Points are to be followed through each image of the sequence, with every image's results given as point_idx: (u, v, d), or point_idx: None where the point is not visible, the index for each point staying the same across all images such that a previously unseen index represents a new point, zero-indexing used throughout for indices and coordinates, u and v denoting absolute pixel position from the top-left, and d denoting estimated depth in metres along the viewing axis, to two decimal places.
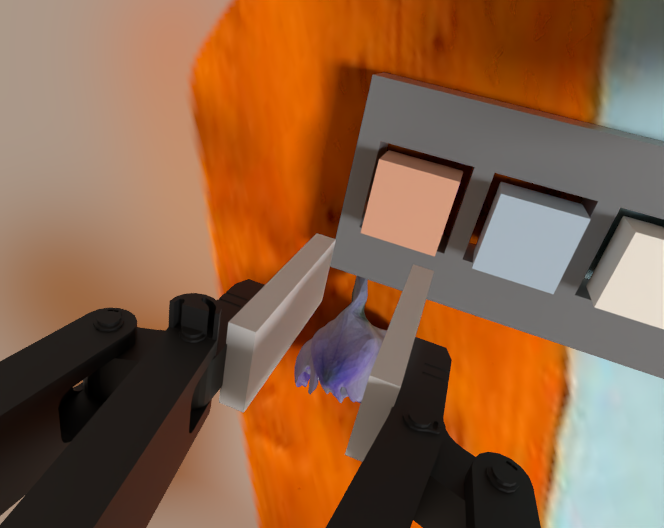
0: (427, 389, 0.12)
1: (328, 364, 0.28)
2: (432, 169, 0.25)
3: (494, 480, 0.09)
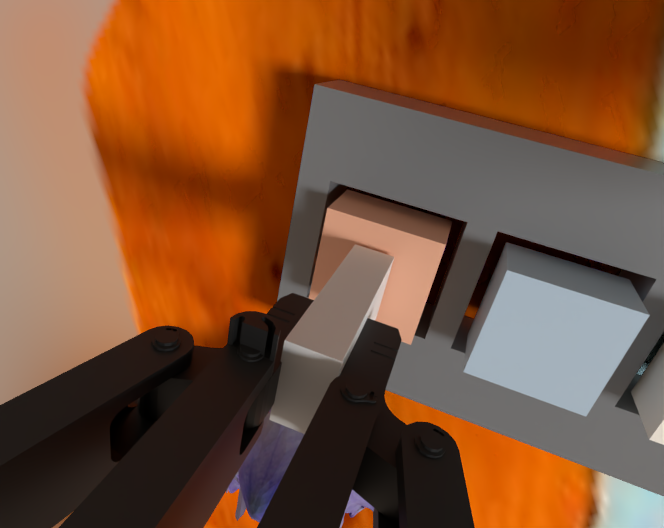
0: (373, 365, 0.12)
1: (257, 486, 0.20)
2: (406, 222, 0.17)
3: (421, 448, 0.09)
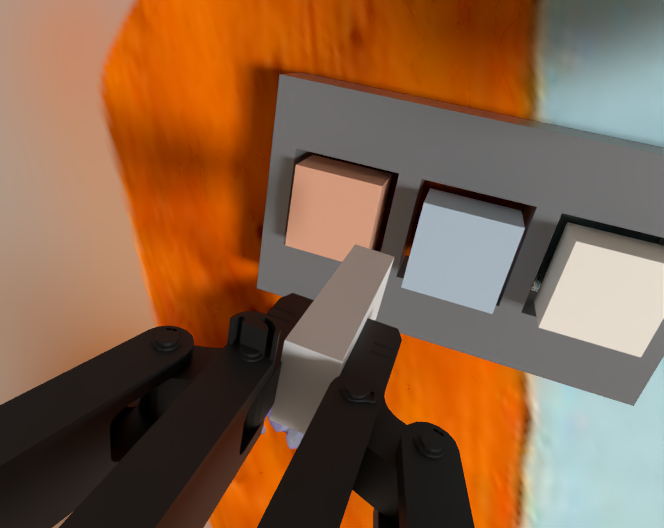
0: (373, 365, 0.12)
1: None
2: (355, 173, 0.23)
3: (421, 448, 0.09)
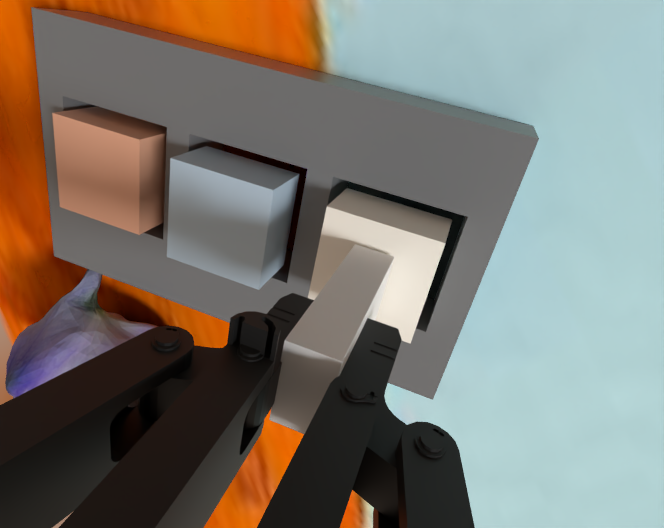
0: (373, 365, 0.12)
1: (13, 366, 0.22)
2: (123, 126, 0.20)
3: (421, 448, 0.09)
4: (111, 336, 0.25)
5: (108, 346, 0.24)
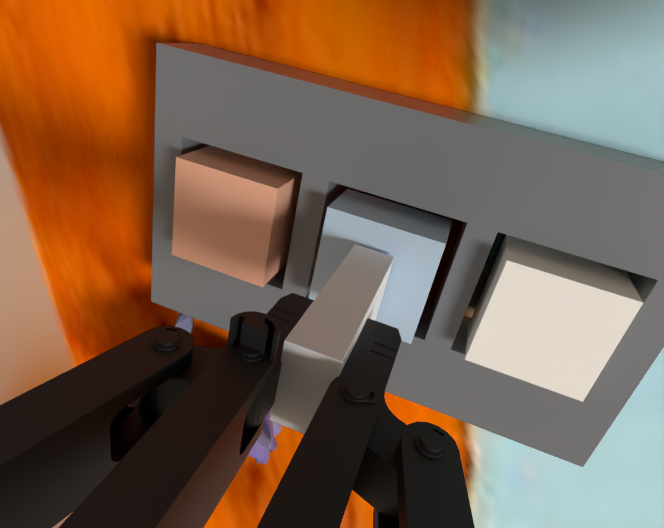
0: (373, 365, 0.12)
1: None
2: (251, 171, 0.19)
3: (421, 448, 0.09)
4: None
5: None
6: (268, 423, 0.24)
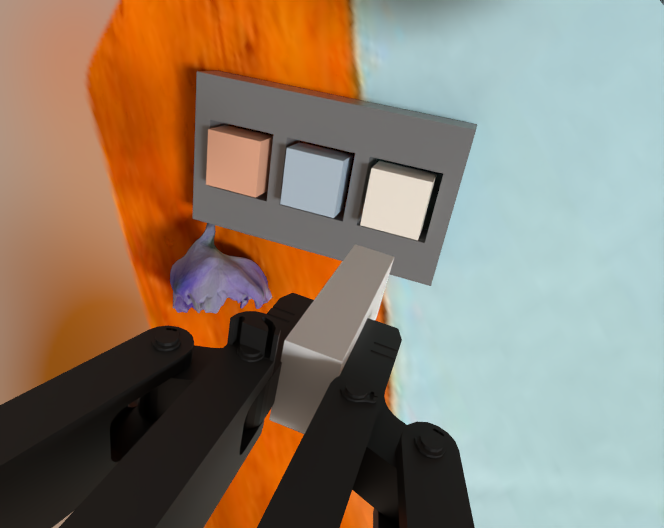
0: (373, 366, 0.12)
1: (177, 278, 0.38)
2: (247, 135, 0.36)
3: (421, 448, 0.09)
4: (227, 261, 0.40)
5: (228, 266, 0.39)
6: (262, 286, 0.41)
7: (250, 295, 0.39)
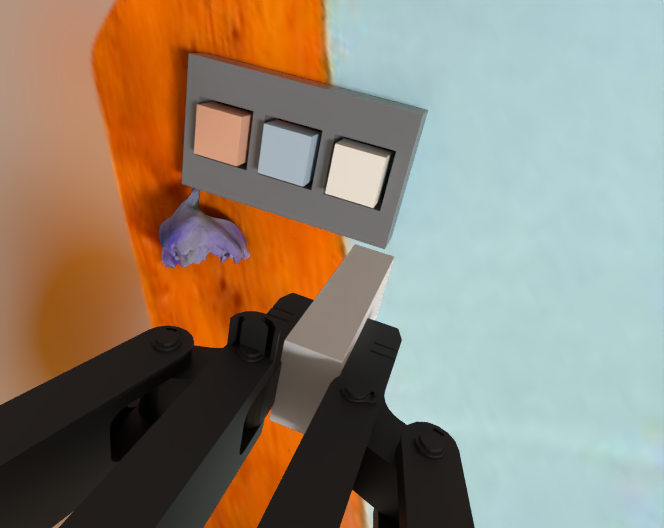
0: (373, 365, 0.12)
1: (164, 233, 0.43)
2: (231, 111, 0.41)
3: (421, 448, 0.09)
4: (209, 221, 0.45)
5: (209, 224, 0.45)
6: (240, 244, 0.47)
7: (228, 250, 0.45)
